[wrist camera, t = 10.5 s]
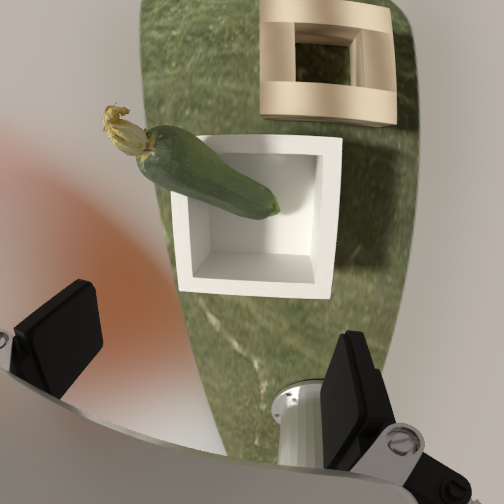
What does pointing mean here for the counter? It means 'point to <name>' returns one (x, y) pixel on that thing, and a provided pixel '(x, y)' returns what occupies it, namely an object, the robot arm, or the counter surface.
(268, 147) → the bin
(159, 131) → the vegetable
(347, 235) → the counter surface
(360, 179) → the counter surface
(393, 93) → the holder
